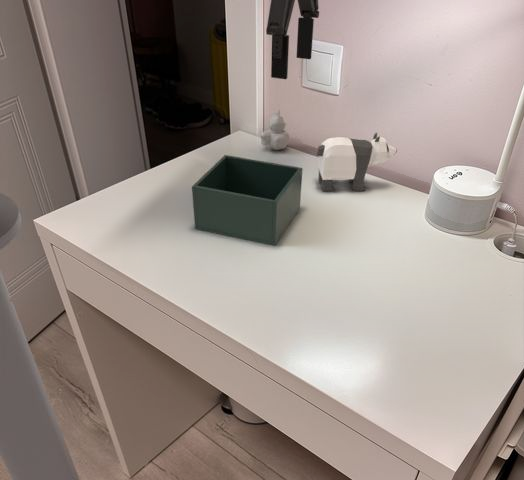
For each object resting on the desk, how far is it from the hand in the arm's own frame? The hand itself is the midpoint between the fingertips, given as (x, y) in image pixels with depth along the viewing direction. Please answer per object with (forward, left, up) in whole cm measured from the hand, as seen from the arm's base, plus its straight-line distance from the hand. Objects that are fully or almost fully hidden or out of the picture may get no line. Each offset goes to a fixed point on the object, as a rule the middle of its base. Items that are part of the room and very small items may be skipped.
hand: (292, 67), depth 97 cm
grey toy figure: (-5, +6, -18) cm, 20 cm away
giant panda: (+14, -5, -18) cm, 23 cm away
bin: (+1, -24, -18) cm, 30 cm away
